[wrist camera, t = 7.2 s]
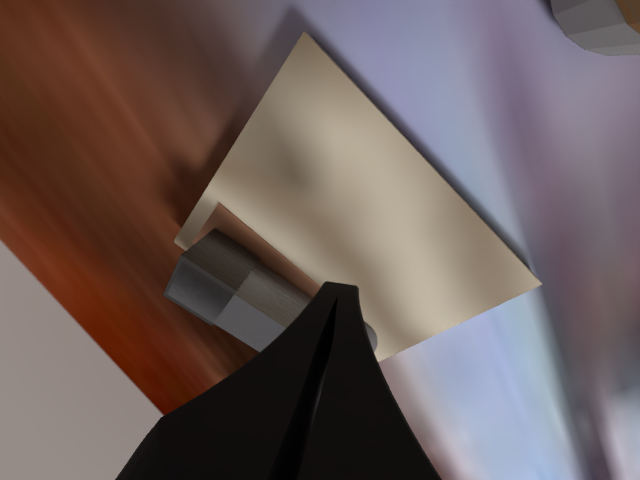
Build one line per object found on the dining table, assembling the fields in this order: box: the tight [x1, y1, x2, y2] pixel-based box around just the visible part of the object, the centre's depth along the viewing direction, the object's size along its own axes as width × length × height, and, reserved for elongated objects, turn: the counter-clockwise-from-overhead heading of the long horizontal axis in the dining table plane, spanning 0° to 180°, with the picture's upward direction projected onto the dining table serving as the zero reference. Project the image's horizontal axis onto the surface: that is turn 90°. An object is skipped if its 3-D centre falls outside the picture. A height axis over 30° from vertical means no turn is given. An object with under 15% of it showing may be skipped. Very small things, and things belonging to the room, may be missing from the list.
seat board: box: [174, 31, 542, 362], centre depth 15 cm, size 14×16×1 cm
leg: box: [163, 228, 312, 352], centre depth 16 cm, size 12×4×3 cm, turn 55°
